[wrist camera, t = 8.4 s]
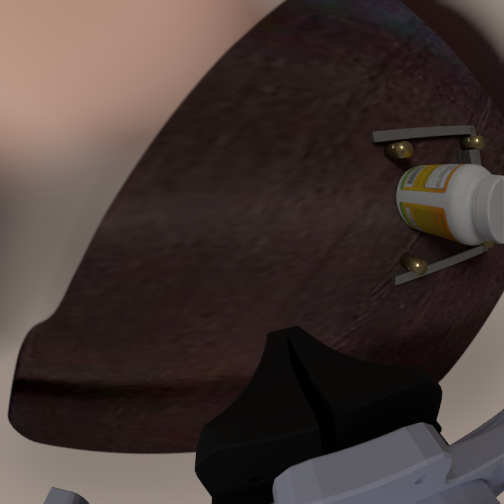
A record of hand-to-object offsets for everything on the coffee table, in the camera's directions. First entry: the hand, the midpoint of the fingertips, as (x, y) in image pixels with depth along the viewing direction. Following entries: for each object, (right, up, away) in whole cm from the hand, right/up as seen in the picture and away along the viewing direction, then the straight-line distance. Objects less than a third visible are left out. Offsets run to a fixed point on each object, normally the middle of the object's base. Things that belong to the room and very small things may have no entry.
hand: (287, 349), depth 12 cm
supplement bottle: (+13, +9, +10) cm, 18 cm away
